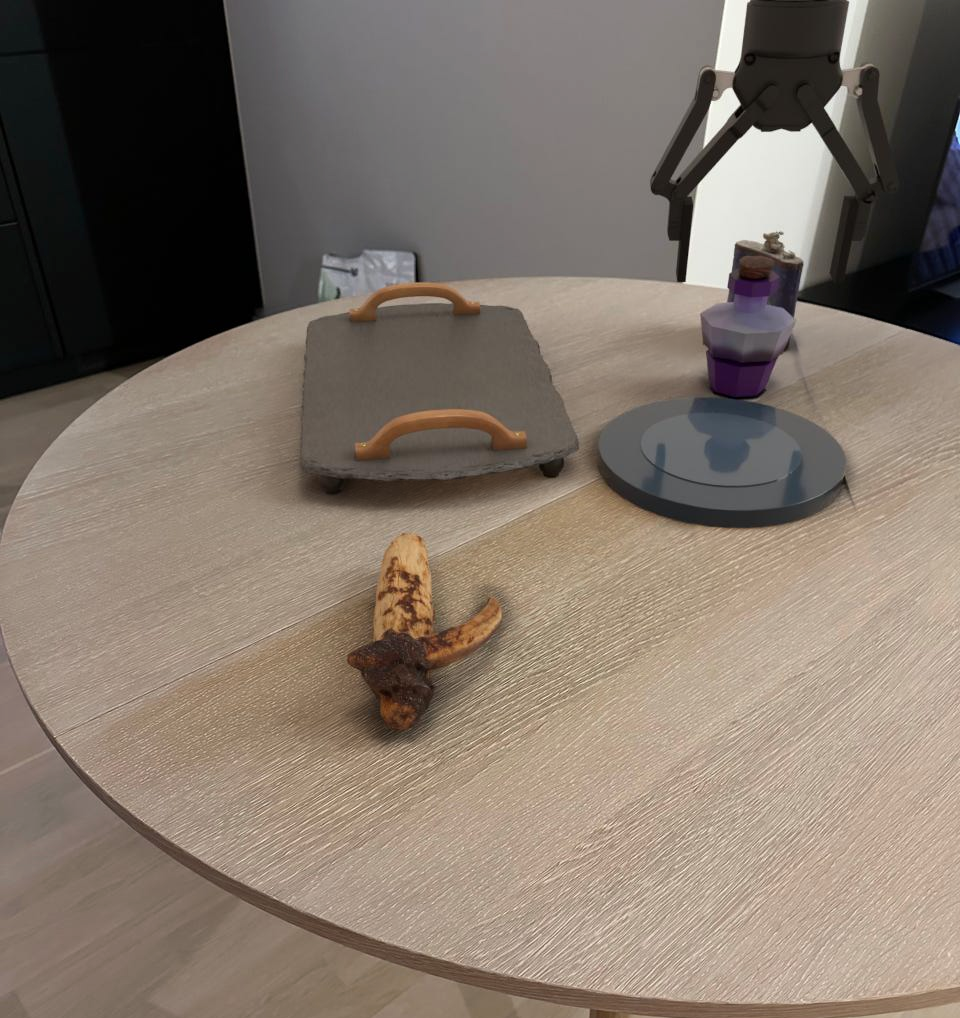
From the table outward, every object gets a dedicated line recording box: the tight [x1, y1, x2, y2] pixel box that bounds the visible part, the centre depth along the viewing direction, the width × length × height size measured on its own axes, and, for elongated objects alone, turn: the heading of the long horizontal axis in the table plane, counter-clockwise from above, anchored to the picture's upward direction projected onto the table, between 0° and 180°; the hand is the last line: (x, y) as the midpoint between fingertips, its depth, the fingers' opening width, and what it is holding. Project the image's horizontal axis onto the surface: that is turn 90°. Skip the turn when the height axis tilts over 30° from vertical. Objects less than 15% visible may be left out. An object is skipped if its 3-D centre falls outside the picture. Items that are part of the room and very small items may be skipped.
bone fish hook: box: [346, 532, 504, 730], centre depth 61 cm, size 9×5×18 cm
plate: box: [596, 396, 847, 529], centre depth 80 cm, size 20×20×2 cm
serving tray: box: [299, 281, 580, 496], centre depth 89 cm, size 39×23×6 cm, turn 7°
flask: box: [726, 230, 805, 352], centre depth 99 cm, size 9×3×11 cm, turn 28°
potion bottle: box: [699, 256, 797, 400], centre depth 89 cm, size 9×9×12 cm
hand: (757, 278), depth 86 cm, fingers open, 13 cm apart
